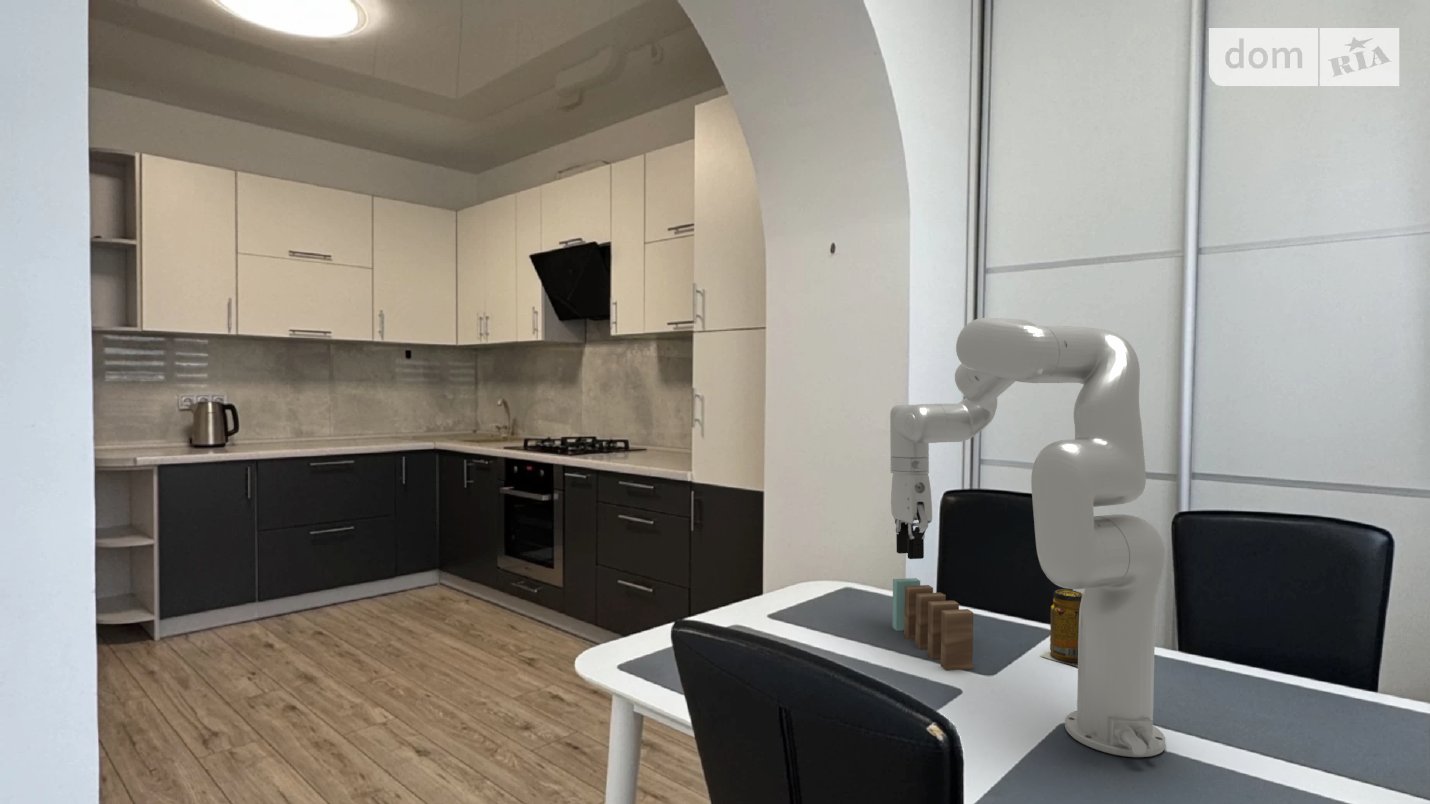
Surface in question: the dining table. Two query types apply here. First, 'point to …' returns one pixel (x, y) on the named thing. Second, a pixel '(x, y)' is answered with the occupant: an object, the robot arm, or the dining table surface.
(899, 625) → the domino
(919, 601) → the domino
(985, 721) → the dining table surface
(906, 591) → the domino
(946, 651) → the domino
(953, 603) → the domino
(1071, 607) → the condiment
